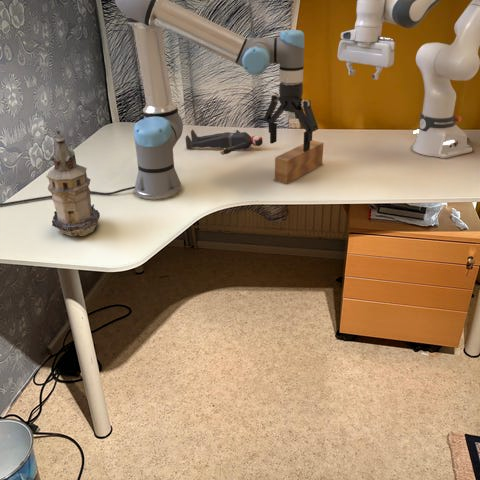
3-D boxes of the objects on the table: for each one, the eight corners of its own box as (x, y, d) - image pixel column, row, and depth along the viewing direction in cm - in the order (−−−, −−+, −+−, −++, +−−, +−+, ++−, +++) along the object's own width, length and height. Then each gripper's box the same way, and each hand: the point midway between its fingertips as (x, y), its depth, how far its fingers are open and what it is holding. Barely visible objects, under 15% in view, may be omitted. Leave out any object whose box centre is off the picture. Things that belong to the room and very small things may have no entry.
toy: (197, 123, 225) (267, 123, 219) (198, 137, 228) (268, 138, 222) (178, 143, 203) (256, 144, 197) (180, 159, 206) (257, 160, 200)
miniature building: (80, 214, 164) (63, 117, 149) (111, 225, 157) (96, 125, 142) (44, 231, 154) (22, 130, 140) (75, 244, 147) (55, 139, 133)
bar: (286, 184, 182) (287, 160, 178) (274, 180, 185) (275, 157, 181) (322, 164, 197) (323, 142, 193) (310, 161, 200) (311, 139, 196)
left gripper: (331, 85, 165) (327, 150, 176) (266, 75, 180) (266, 136, 190) (318, 90, 160) (314, 157, 171) (253, 79, 175) (253, 142, 185)
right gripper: (400, 37, 174) (394, 80, 181) (347, 30, 186) (343, 71, 193) (390, 39, 170) (385, 83, 177) (336, 33, 182) (333, 74, 189)
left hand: (289, 146), depth 180 cm, fingers open, 13 cm apart
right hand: (363, 77), depth 185 cm, fingers open, 8 cm apart
